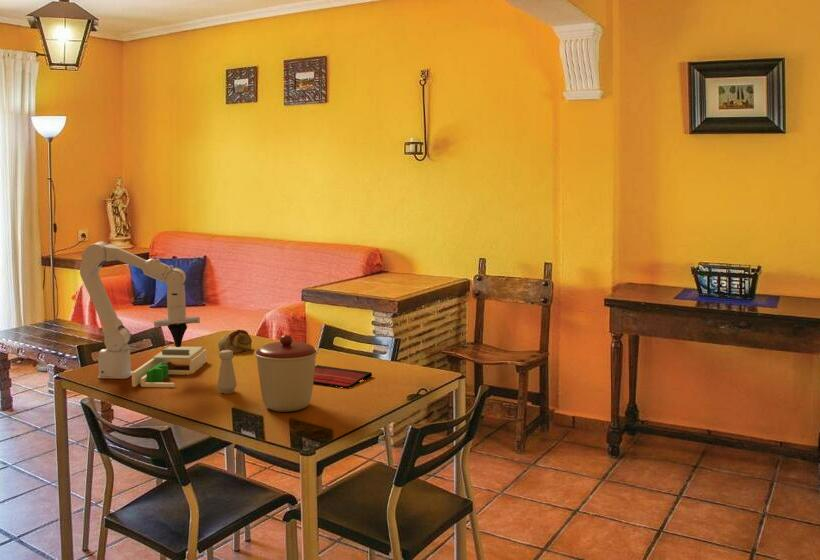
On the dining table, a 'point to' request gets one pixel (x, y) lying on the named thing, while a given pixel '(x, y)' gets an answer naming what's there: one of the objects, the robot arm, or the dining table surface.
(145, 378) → the housing
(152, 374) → the pipe clamp
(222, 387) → the salt shaker
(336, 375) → the binder
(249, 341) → the pastry
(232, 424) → the dining table surface
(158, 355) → the door
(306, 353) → the canister
